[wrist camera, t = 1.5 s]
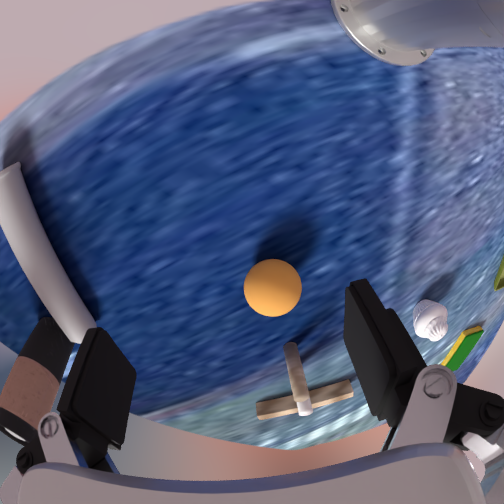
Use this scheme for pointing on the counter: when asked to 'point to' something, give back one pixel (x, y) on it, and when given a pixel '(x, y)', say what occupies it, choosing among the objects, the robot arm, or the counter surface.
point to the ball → (272, 287)
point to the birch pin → (296, 372)
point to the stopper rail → (316, 397)
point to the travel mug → (34, 381)
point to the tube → (40, 256)
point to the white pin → (304, 407)
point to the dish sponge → (462, 348)
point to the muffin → (430, 320)
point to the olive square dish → (500, 277)
